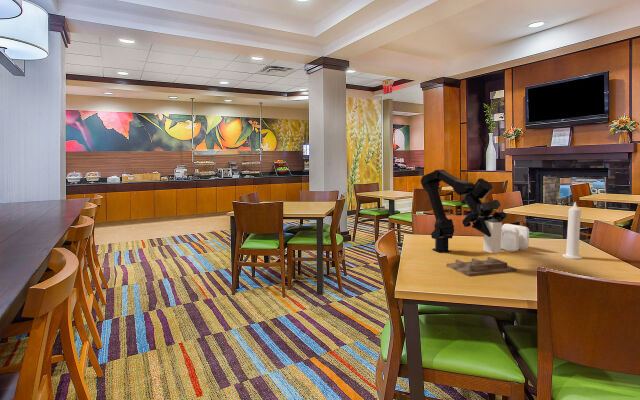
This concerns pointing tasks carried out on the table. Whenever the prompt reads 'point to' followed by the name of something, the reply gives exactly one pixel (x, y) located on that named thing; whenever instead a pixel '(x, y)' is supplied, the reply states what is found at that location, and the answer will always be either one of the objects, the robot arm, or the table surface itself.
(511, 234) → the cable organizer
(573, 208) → the candle
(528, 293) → the table surface
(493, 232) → the white tall block
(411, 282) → the table surface
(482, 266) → the comb rack
